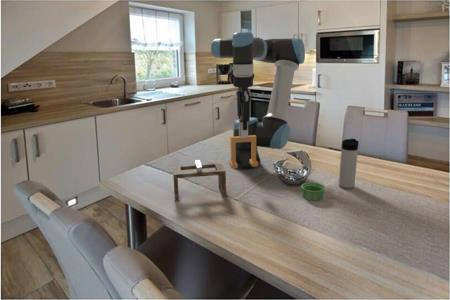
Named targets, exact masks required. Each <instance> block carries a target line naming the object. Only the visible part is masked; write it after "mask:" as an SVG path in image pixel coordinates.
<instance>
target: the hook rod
mask: <svg viewBox="0 0 450 300" xmlns="http://www.w3.org/2000/svg"><path fill="white" fill-rule="evenodd" d="M201 164H202V163H201V159H195V160H194V165H195V166H196V169H195V171H196V172H202V171H203V169H202V165H201Z"/></svg>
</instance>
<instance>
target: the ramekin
mask: <svg viewBox="0 0 450 300" xmlns="http://www.w3.org/2000/svg"><path fill="white" fill-rule="evenodd" d="M300 188H301V195H302V198H303V199H304V200H306V201H309V202H316V201H317V202H319V201H321V200H322V199H324V194H325V191H326V186H325V185H323V184H322V183H319V182H311V181H308V182H305V183H302V184H301V186H300Z"/></svg>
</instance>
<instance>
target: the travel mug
mask: <svg viewBox="0 0 450 300" xmlns="http://www.w3.org/2000/svg"><path fill="white" fill-rule="evenodd" d="M341 142H342V143H341V152H340V163H339V174H338V175H339V177H338V187H339V188H340V189H343V190H353V189H355V185H356V184H355V183H356V176H357V175H356V174H357V173H356V172H357V165H358V164H357V163H358V155H359V153H358V151H359V140H357V139H356V138H348V139H344V140H342V141H341Z"/></svg>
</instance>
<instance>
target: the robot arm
mask: <svg viewBox="0 0 450 300" xmlns="http://www.w3.org/2000/svg"><path fill="white" fill-rule="evenodd" d="M305 50H306V49H305V44H304V42H303V40H302V39H301V38H294V37H292V38H268V39H263V38H261V37H254V35H253V32H249V31H248V32H246V31H243V32H234V33H233V34H232V38H215V39H214V40H212V42H211V46H210V51H211V54H212V56H213V57H214V58H216V59H219V58H220V59H232V67H231V70H232V75H233V77H232V85H233V87H235V88H238V89H237V90H238V91H236V92H235V93H236V106H237V107H236V108H237V109H236V110H237V117H238V119H236V120H235V121H234V122H233V127H232V128H233V129H232V131H233V134H232V135H233V136H232V137H236V136H240V122H241V138H248V136H251V135H255V136H256V161H257V162H258V166H256V167H252V166H251V164H250V163H249V159H251V142H238V143H235V146H236V163H237V164H238V168H236V169H238V170H254V169H257V168H260V167H261V165H262V161H261V157H260V153H259V151H258V147H259V148H267V149H271V150H275V149H276V150H281V149H283V148H285V146H286V145H287V143H288V142H289V138H290V136H291V127H290V125H288V121H287V119H286V115H287V111H288V105H289V100H290V97H291V96H290V95H291V89H292V85H293V81H294V77H295V72H296V71H297V70H299V67H300V65H302V64H305V63H304V62H305V60H306V51H305ZM254 61H255V62H262V63H267V64H268V63H269V64H274V67H275V68H276V71H275V74H274V75H275V76H274V79H273V84H272V89H271V94H270V98H269V103H268V107H267V108H268V109H267V113H266V115H264V116H263V117H262V120H261V121H259V119H258V118H257V117H250V114H251V113H250V111H251V110H250V109H251V97H252V96H251V95H250V91H249V88H251V87H253V86H254V76H253V75H254ZM240 116H241V120H240ZM229 161H231V159H230V160H229Z"/></svg>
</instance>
